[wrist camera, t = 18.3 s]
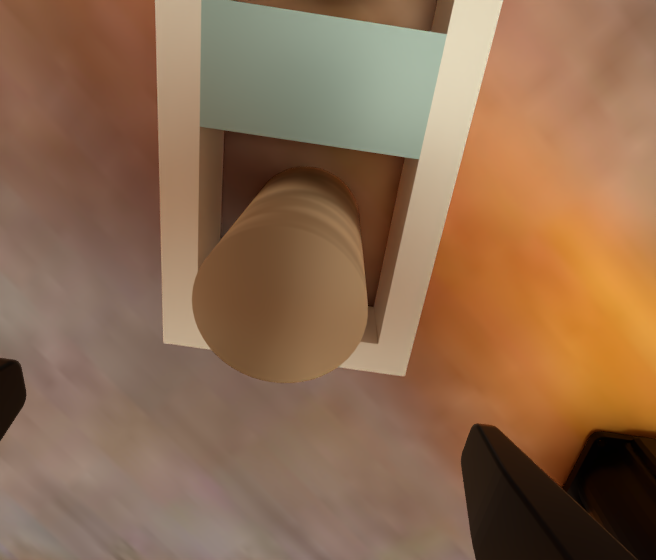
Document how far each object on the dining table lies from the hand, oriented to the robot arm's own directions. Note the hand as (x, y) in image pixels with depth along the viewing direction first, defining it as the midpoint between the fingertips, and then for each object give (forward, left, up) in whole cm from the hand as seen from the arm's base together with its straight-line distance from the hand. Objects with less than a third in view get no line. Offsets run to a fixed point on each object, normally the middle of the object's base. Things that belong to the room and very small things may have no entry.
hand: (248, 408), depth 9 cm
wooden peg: (0, 0, -13) cm, 13 cm away
